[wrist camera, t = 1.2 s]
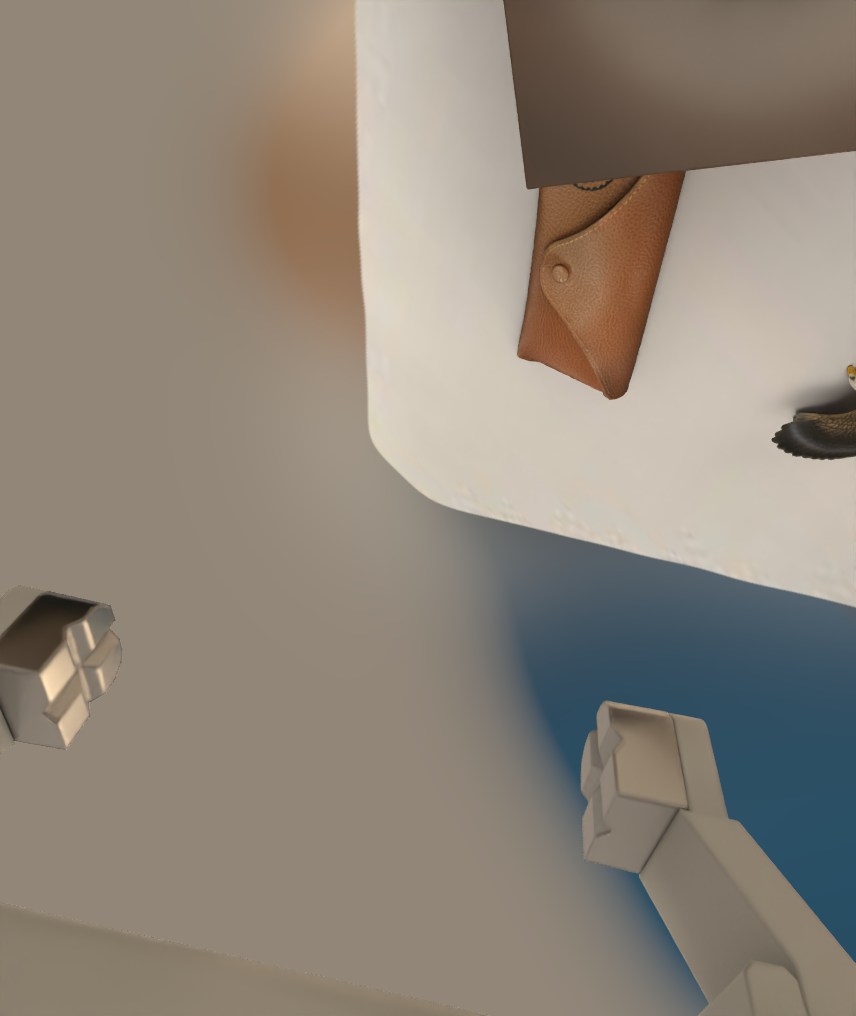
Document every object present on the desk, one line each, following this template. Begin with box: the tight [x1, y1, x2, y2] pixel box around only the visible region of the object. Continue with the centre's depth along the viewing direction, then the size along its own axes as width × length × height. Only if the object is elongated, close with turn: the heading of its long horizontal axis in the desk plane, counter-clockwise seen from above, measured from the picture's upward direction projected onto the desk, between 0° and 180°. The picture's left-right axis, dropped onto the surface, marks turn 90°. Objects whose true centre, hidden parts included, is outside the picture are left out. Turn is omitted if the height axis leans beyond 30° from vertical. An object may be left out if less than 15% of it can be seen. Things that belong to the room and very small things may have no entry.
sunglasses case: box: [517, 171, 686, 400], centre depth 41 cm, size 18×7×7 cm, turn 2°
